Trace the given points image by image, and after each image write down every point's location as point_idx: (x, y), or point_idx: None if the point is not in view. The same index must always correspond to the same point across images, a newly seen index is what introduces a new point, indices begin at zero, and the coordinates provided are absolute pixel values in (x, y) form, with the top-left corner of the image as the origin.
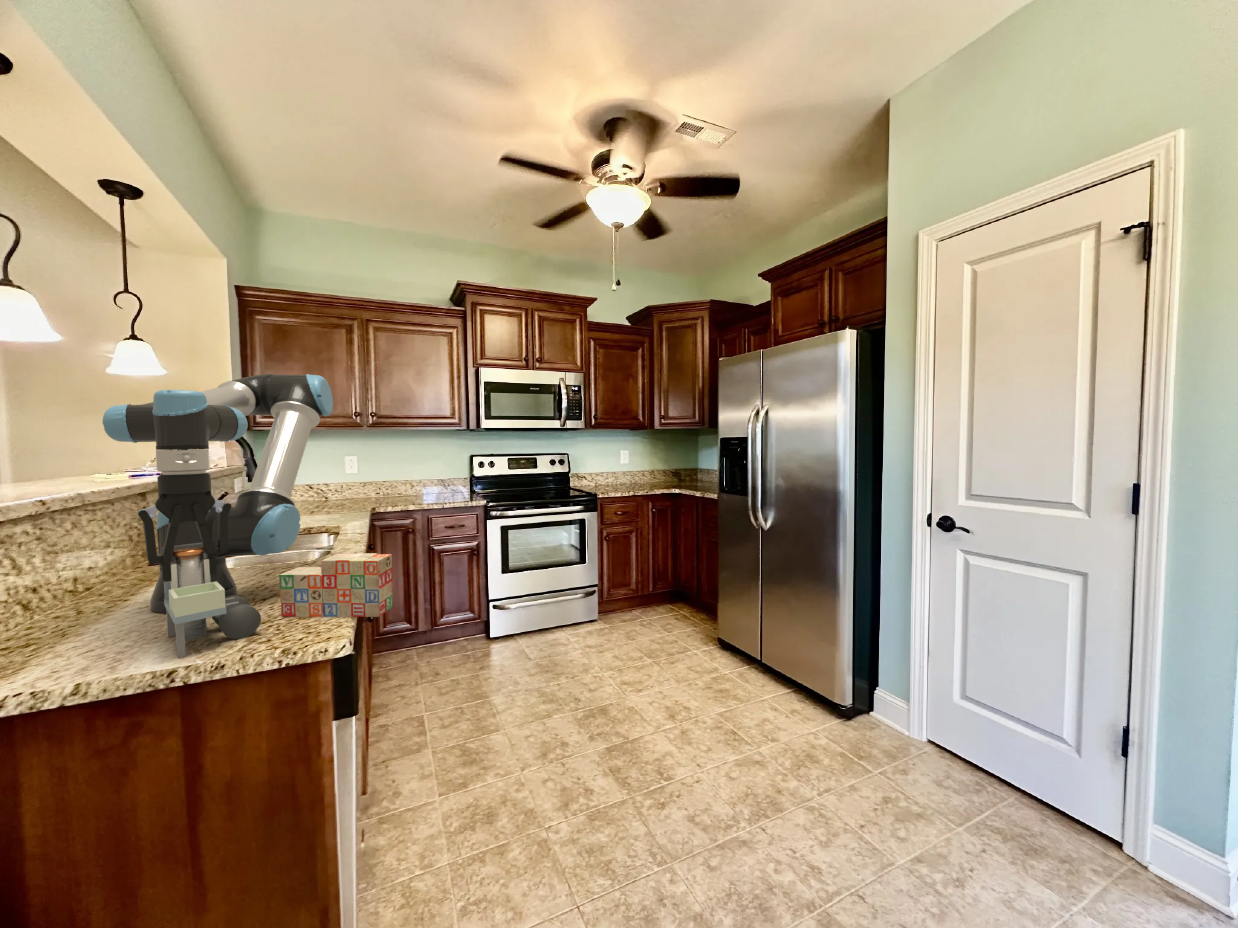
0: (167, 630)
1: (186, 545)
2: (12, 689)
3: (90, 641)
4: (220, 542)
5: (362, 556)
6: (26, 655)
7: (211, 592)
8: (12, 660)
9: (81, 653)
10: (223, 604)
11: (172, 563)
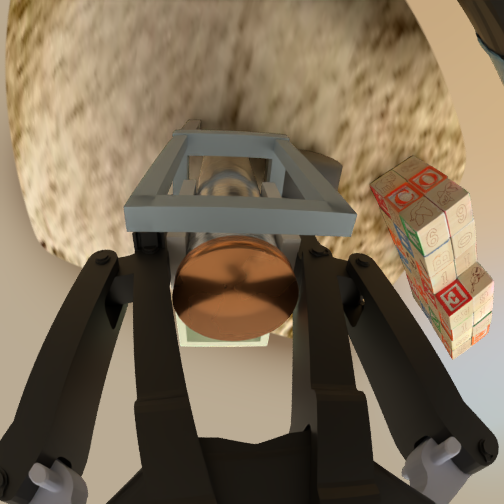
0: (187, 121)
1: (244, 231)
2: (32, 222)
3: (80, 44)
4: (349, 331)
5: (473, 331)
6: (17, 65)
7: (243, 345)
8: (7, 81)
9: (69, 114)
10: None
11: (176, 268)
